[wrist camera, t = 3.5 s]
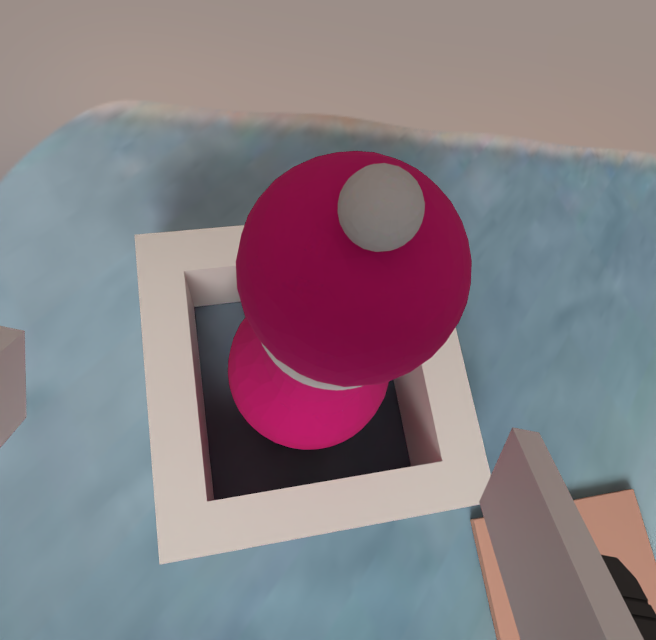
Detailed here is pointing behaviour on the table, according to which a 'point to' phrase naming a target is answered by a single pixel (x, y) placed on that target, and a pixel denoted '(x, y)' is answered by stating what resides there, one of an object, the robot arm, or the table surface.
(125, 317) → the table surface
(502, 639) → the rubber mat
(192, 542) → the holder collar
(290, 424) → the pepper mill
